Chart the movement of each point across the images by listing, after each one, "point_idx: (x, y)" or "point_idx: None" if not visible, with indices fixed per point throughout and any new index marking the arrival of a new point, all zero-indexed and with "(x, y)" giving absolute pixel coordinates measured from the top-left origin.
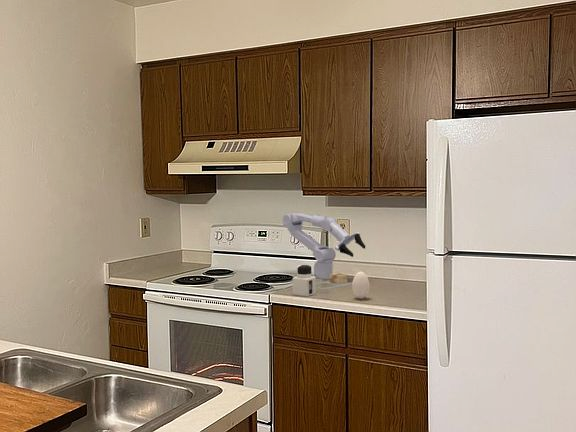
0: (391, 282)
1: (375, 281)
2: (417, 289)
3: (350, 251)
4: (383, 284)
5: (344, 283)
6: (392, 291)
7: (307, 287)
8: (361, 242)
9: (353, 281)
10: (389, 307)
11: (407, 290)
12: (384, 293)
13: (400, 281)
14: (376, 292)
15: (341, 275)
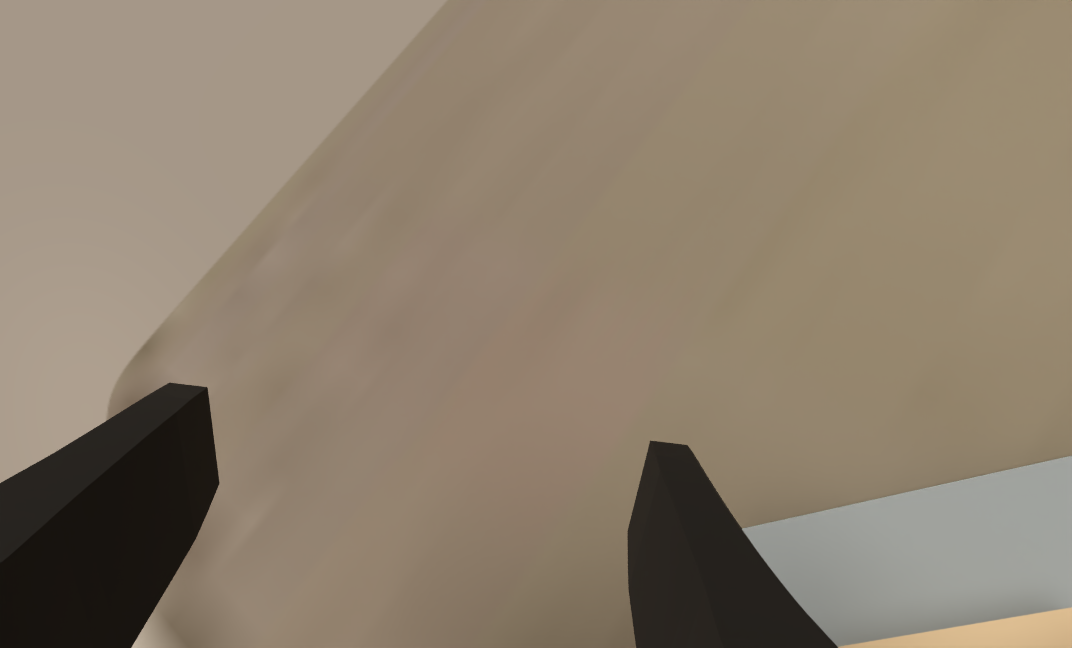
0: (302, 472)
1: (374, 629)
2: (382, 107)
3: (691, 500)
4: (433, 418)
5: (918, 622)
6: (599, 89)
7: None
8: (101, 462)
9: None
10: None
11: (468, 93)
12: (724, 30)
13: None
14: (767, 85)
15: (1000, 624)
